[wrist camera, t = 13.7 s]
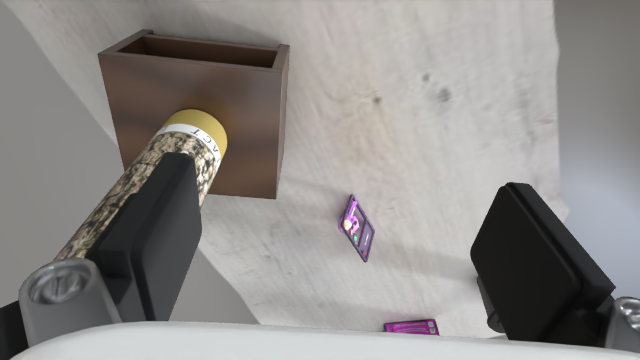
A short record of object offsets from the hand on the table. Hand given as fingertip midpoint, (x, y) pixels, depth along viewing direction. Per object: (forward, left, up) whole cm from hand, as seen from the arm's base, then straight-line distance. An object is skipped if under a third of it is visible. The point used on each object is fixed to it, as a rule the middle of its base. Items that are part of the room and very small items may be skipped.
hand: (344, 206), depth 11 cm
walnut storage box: (+13, -13, -38) cm, 42 cm away
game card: (+32, +8, -38) cm, 51 cm away
